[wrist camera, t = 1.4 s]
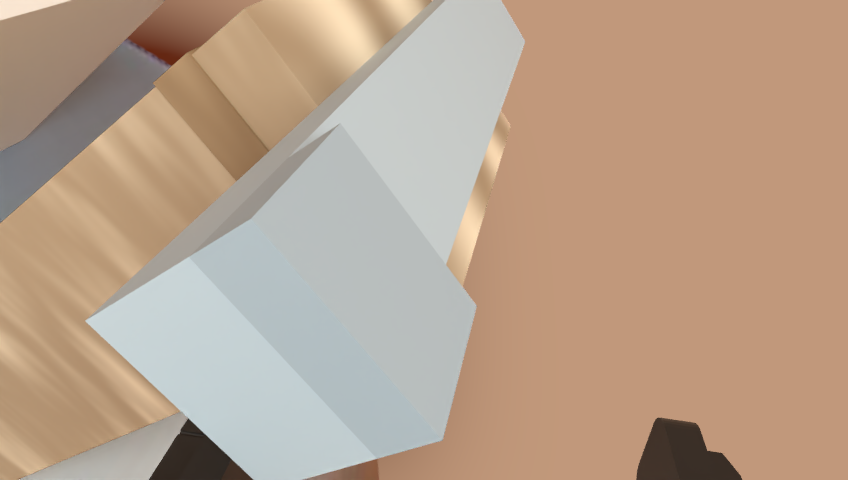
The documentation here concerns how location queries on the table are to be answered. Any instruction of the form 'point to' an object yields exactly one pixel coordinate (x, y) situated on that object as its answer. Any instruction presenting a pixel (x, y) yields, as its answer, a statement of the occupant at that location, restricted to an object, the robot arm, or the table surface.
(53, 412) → the tall brown wood-grain block
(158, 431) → the table surface
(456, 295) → the pale blue-grey block
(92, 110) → the table surface
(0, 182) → the table surface
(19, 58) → the block
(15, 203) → the table surface
